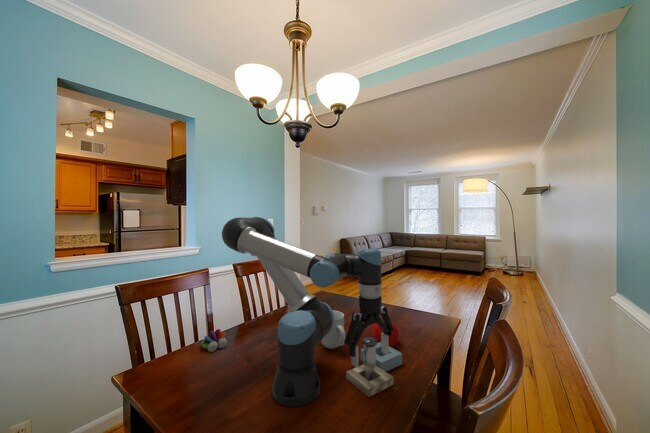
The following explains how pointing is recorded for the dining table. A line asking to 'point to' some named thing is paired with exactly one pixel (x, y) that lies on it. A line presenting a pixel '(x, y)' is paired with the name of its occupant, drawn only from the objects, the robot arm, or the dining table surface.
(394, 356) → the socket
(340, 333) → the mug
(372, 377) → the pin
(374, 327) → the tomato
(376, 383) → the beige square frame
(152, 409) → the dining table surface
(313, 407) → the dining table surface
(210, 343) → the multicoloured knobbly toy
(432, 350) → the dining table surface
